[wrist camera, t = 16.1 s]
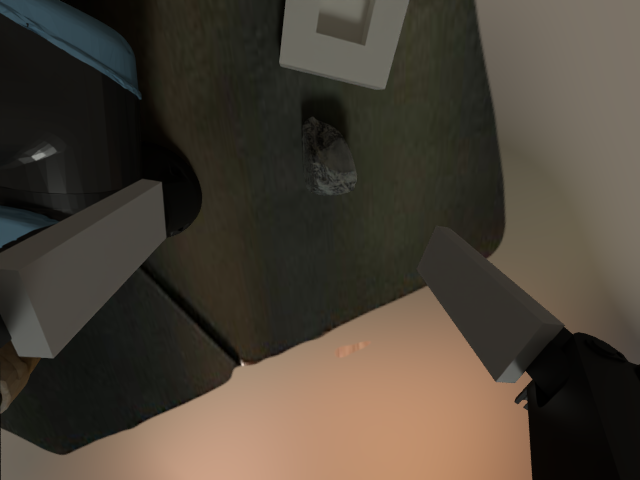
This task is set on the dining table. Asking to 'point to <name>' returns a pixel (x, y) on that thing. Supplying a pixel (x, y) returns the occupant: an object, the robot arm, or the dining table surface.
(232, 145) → the dining table surface
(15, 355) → the potted plant
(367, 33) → the white square platform
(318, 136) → the stone
